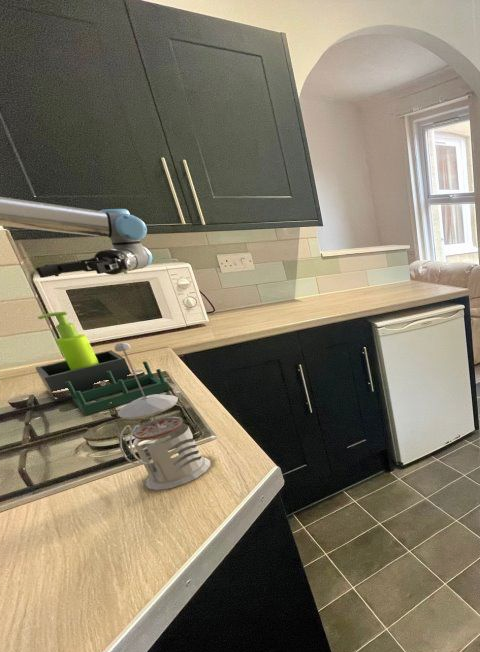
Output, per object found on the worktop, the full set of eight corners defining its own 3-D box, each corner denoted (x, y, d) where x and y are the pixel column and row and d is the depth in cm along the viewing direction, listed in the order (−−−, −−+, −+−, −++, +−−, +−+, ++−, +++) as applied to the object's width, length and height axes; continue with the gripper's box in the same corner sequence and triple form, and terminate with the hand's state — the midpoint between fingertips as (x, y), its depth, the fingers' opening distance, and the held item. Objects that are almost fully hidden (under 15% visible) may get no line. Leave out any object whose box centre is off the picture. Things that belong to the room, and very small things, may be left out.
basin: (57, 402, 108) (44, 377, 105) (47, 390, 116) (34, 367, 113) (134, 381, 120) (124, 358, 117) (121, 371, 127) (111, 350, 125)
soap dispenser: (73, 383, 117) (37, 313, 109) (106, 376, 121) (73, 308, 113) (73, 389, 113) (36, 317, 105) (107, 381, 118) (73, 311, 109)
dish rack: (86, 415, 100) (74, 393, 98) (74, 403, 107) (63, 382, 105) (170, 389, 113) (161, 369, 110) (155, 380, 119) (146, 360, 117)
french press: (222, 456, 81) (173, 332, 70) (177, 496, 70) (112, 356, 60) (173, 458, 81) (117, 334, 71) (121, 497, 71) (46, 358, 60)
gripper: (163, 270, 140) (125, 280, 121) (75, 276, 135) (22, 288, 116) (154, 246, 137) (114, 253, 118) (64, 252, 132) (7, 260, 113)
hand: (68, 270), depth 117 cm, fingers open, 13 cm apart
